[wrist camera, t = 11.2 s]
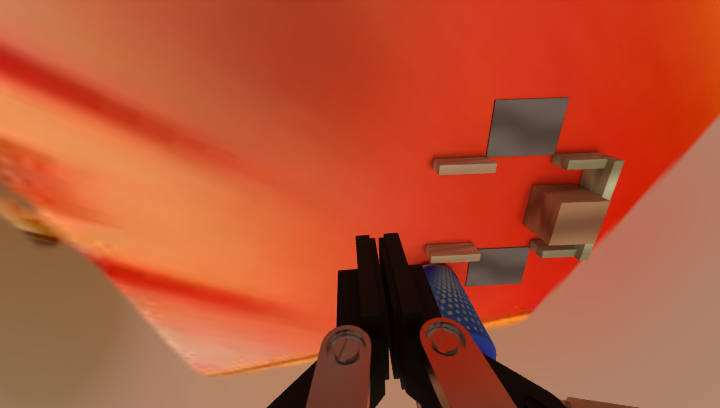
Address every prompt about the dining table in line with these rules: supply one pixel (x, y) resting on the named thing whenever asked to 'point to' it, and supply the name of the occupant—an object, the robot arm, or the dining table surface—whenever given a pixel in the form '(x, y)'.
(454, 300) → the beer can
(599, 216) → the walnut block
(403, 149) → the dining table surface
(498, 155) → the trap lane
